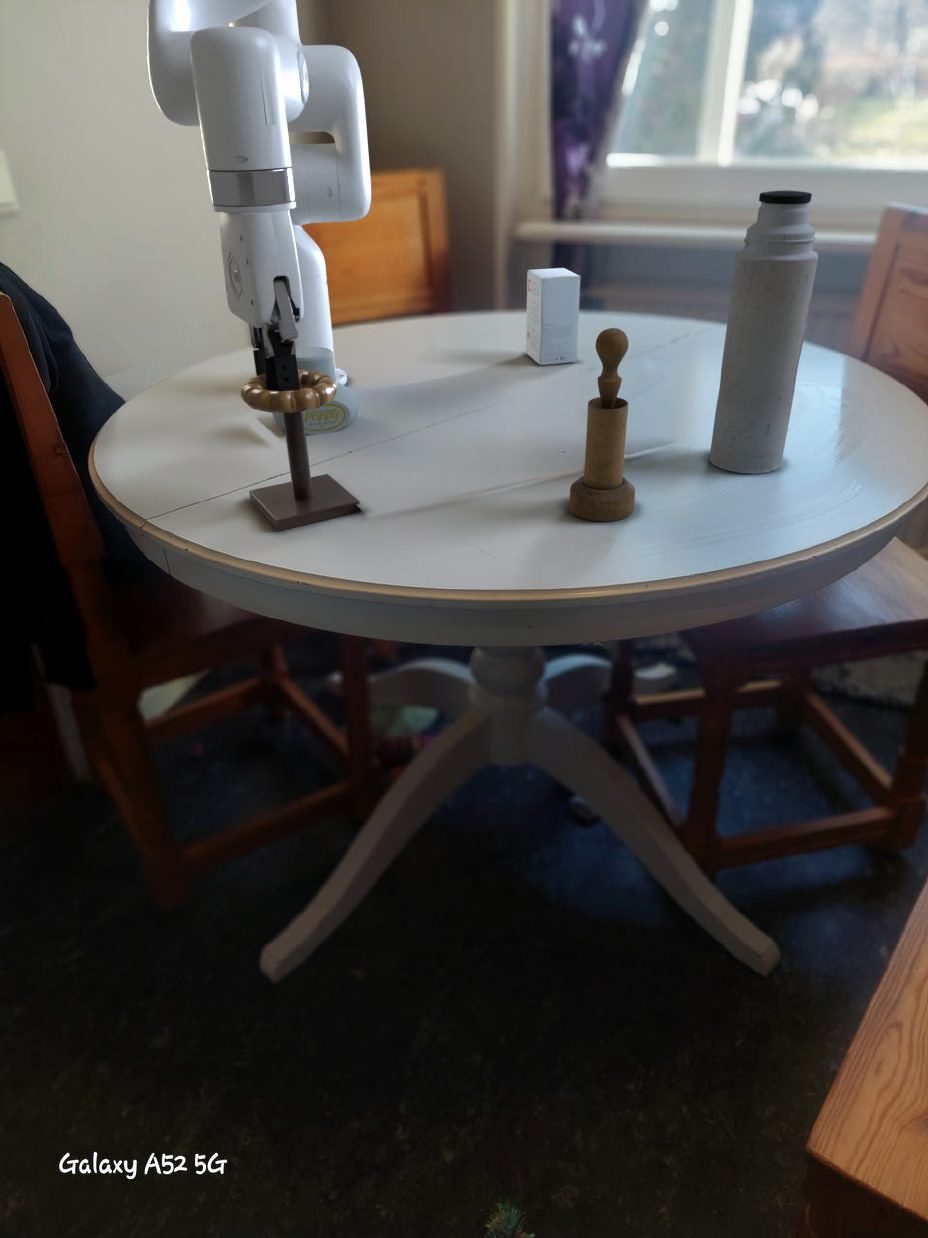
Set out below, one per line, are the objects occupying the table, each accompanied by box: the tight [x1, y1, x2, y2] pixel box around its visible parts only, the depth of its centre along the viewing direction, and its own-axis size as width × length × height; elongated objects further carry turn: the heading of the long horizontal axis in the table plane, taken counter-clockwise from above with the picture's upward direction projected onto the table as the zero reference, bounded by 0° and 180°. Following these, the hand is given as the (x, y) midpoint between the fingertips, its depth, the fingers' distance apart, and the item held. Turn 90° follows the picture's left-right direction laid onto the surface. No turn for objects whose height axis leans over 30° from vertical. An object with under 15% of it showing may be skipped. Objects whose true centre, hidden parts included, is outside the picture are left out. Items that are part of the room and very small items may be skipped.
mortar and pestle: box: [568, 327, 636, 522], centre depth 85 cm, size 7×6×18 cm
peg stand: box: [248, 389, 361, 532], centre depth 89 cm, size 9×9×12 cm
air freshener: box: [271, 347, 360, 436], centre depth 110 cm, size 11×8×10 cm
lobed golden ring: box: [240, 370, 338, 414], centre depth 86 cm, size 9×9×2 cm
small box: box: [525, 267, 581, 366], centre depth 137 cm, size 8×6×13 cm
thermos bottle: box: [709, 189, 819, 475], centre depth 93 cm, size 8×8×28 cm
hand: (279, 389), depth 89 cm, fingers closed on lobed golden ring, 2 cm apart
